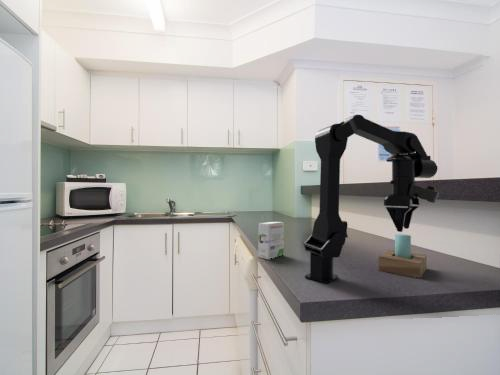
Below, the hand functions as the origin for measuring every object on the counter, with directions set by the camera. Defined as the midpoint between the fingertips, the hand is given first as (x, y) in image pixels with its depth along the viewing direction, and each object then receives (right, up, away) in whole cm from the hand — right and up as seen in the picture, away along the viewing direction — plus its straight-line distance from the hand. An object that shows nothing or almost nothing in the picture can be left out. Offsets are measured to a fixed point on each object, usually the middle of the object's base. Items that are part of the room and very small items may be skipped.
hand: (403, 230), depth 74 cm
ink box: (-38, -12, +13) cm, 42 cm away
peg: (0, -12, 0) cm, 12 cm away
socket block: (0, -12, 0) cm, 12 cm away
